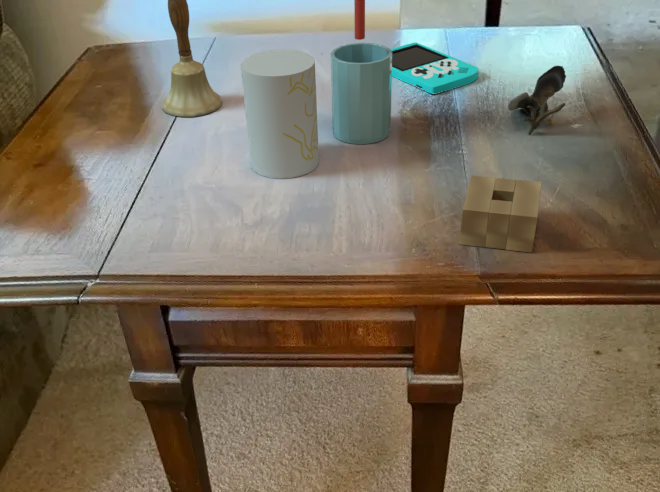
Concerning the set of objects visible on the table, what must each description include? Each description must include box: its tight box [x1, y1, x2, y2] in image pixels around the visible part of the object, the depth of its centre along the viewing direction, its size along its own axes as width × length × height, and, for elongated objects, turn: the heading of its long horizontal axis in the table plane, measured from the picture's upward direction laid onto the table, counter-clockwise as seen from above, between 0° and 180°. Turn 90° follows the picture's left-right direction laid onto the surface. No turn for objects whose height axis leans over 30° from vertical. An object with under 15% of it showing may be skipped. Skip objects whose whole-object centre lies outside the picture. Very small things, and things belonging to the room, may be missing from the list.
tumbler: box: [330, 42, 393, 145], centre depth 94 cm, size 7×7×10 cm
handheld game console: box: [389, 41, 480, 93], centre depth 112 cm, size 10×16×1 cm, turn 33°
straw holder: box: [458, 175, 543, 254], centre depth 76 cm, size 7×7×4 cm
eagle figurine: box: [507, 65, 567, 136], centre depth 95 cm, size 8×7×9 cm
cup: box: [240, 49, 320, 180], centre depth 87 cm, size 8×8×12 cm
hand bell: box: [161, 0, 223, 118], centre depth 101 cm, size 8×8×16 cm
